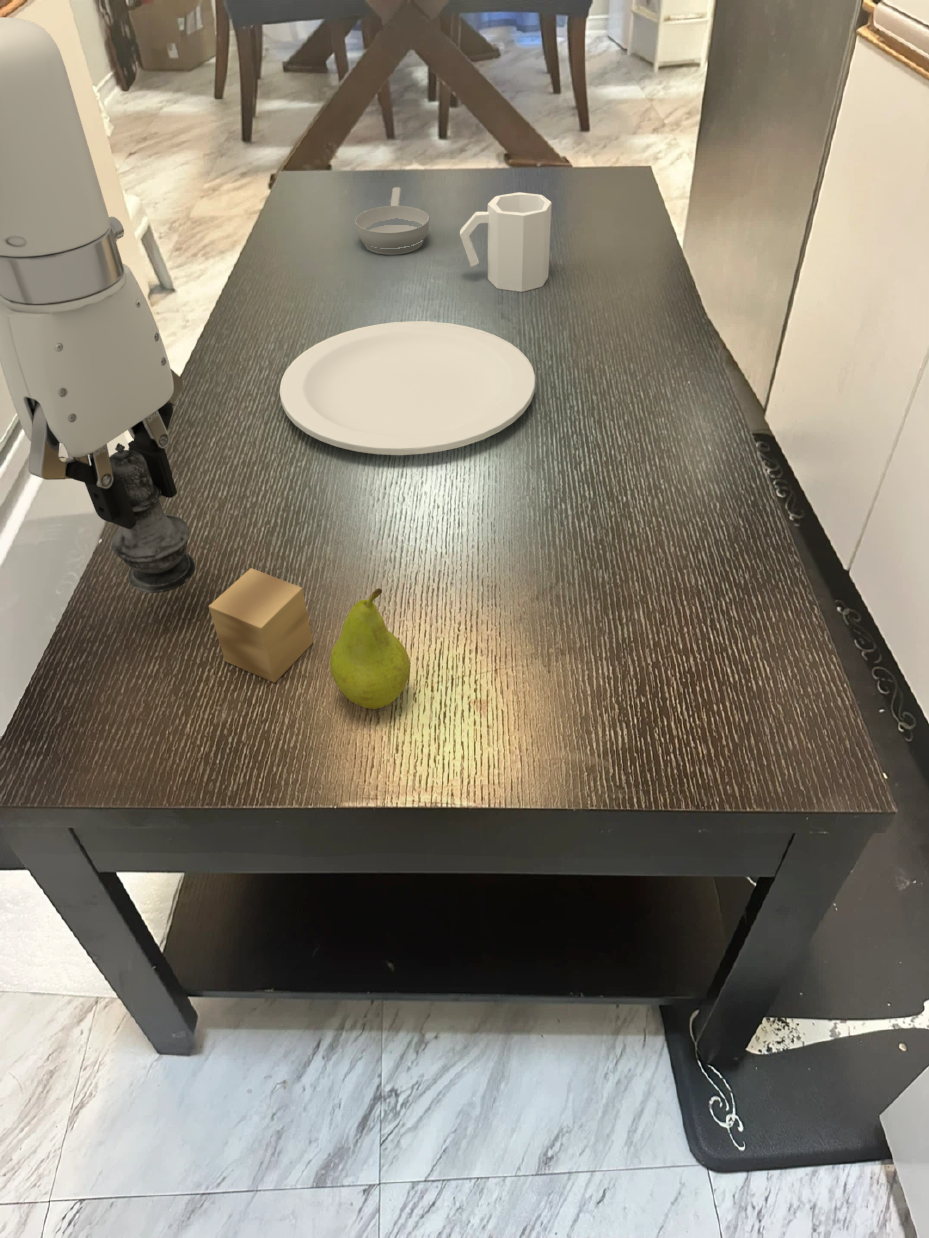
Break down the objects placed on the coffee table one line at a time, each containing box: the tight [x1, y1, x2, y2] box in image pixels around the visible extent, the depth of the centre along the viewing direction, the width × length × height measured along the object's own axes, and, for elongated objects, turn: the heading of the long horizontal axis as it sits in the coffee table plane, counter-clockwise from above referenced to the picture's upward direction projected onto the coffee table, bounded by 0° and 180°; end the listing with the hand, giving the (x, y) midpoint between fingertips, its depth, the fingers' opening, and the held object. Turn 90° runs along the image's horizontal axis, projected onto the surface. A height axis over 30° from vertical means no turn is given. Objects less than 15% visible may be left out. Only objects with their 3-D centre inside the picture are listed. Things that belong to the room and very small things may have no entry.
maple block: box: [208, 567, 314, 684], centre depth 69 cm, size 5×5×6 cm
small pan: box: [354, 186, 430, 256], centre depth 133 cm, size 11×18×4 cm, turn 0°
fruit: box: [329, 587, 411, 710], centre depth 63 cm, size 6×6×12 cm
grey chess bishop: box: [109, 442, 197, 594], centre depth 67 cm, size 6×6×12 cm
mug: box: [459, 191, 553, 293], centre depth 118 cm, size 12×9×10 cm
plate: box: [279, 320, 536, 456], centre depth 98 cm, size 28×28×2 cm
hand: (139, 504), depth 67 cm, fingers closed on grey chess bishop, 3 cm apart
